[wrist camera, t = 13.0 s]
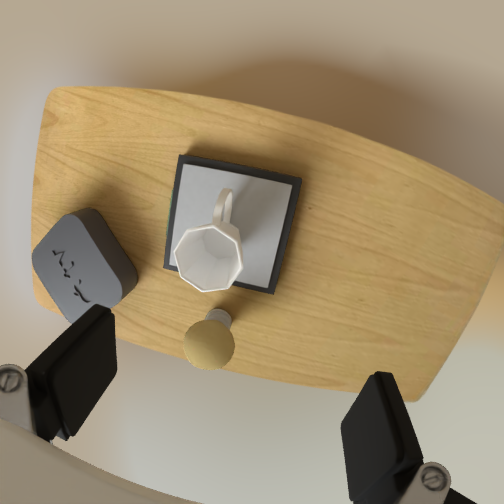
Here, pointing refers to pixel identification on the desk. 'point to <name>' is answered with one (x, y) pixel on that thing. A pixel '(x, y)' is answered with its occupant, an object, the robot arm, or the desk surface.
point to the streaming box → (83, 264)
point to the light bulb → (210, 341)
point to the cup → (211, 250)
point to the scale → (236, 213)
